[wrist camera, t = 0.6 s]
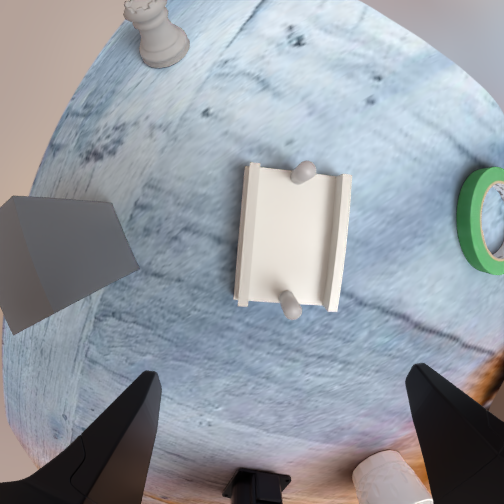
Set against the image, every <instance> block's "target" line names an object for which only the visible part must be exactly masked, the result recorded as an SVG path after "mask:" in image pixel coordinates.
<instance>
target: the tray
mask: <svg viewBox="0 0 504 504" xmlns="http://www.w3.org/2000/svg"><path fill="white" fill-rule="evenodd" d="M351 183H352V175H347V174H341V175H339V176H337V177H335V176H328V175H321V174H316V167H315V165H314V164H313V163H312V162H310V161H303V162H301V163H300V164H299V165H298V166H297V167H296V168H295V169H294V170H293V171H290V170H281V169H272V168H261V167H260V163H252V162H250V166H245V171H244V182H243V193H242V204H241V216H240V227H239V239H238V251H237V263H236V276H235V289H234V300H238V306H243V307H248V301H259V302H273V303H280V304H281V307H282V309H283V312H284V314H285V316H286V317H287V318H288V319H290V320H295V319H297V318H299V317H300V316H301V314H302V308H301V306H300V304H306V305H323V306H324V307H325V309H326V310H327V311H328V312H337V309H338V303H339V296H340V289H341V283H342V275H343V268H344V260H345V251H346V243H347V233H348V223H349V211H350V198H351Z"/></svg>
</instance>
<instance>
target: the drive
mask: <svg viewBox="0 0 504 504" xmlns="http://www.w3.org/2000/svg"><path fill="white" fill-rule="evenodd" d="M137 270H139V266H138V264H137V262H136V260H135V258H134V255H133V253H132V251H131V249H130V246H129V244H128V242H127V239H126V237H125V235H124V232H123V230H122V227H121V225H120V222H119V220H118V217H117V215H116V212H115V210H114V207H113V205H112V203H106V202H95V201H83V200H70V199H57V198H43V197H27V196H12V197H11V198H10V199H9V200H8V201H7V202H6V203H5V204H4V205H2V207H0V307H1V309H2V312H3V314H4V316H5V319H6V321H7V323H8V325H9V328H10V330H11V332H12V334H13V335H15V334H17V333H19V332H21V331H22V330H24V329H26V328H28V327H30V326H32V325H34V324H35V323H37V322H39V321H41V320H43V319H45V318H47V317H49V316H51V315H52V314H54V313H56V312H58V311H60V310H62V309H64V308H65V307H67V306H69V305H71V304H73V303H75V302H77V301H79V300H80V299H82V298H84V297H86V296H88V295H90V294H92V293H94V292H96V291H98V290H99V289H101V288H103V287H105V286H107V285H109V284H111V283H113V282H115V281H117V280H119V279H121V278H123V277H125V276H127V275H129V274H131V273H133V272H135V271H137Z"/></svg>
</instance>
